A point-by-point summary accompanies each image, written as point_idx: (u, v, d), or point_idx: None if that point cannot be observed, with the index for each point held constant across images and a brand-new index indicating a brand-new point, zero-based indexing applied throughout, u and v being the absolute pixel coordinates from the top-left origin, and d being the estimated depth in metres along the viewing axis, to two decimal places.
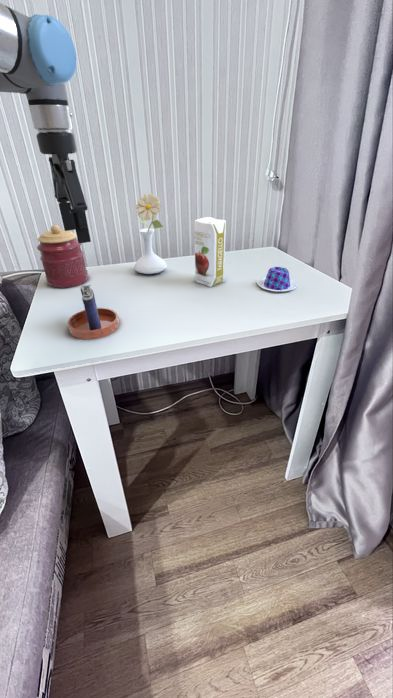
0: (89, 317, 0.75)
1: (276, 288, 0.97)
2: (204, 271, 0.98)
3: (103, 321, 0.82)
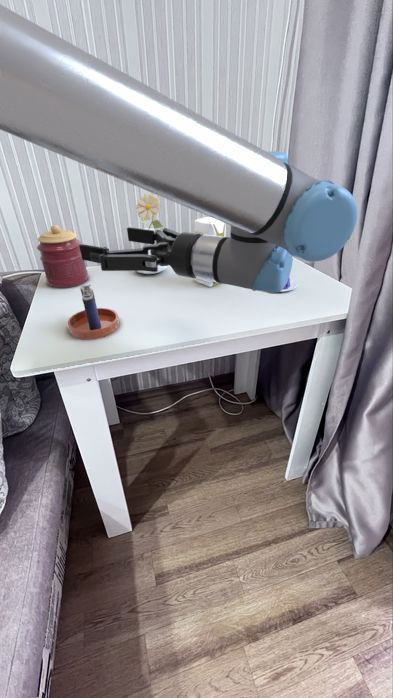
0: (89, 317, 0.75)
1: None
2: None
3: (103, 321, 0.82)
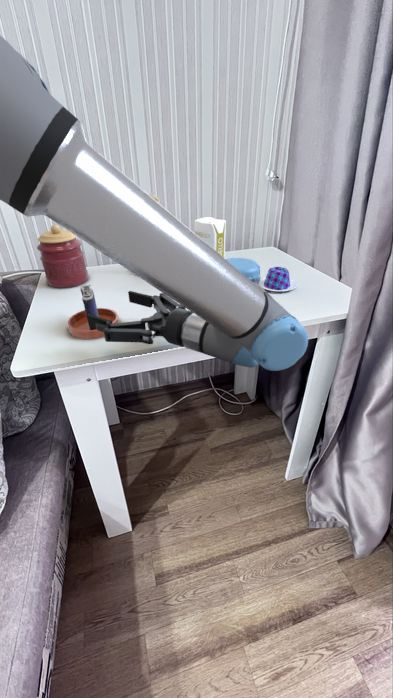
0: None
1: (276, 288, 0.97)
2: None
3: None
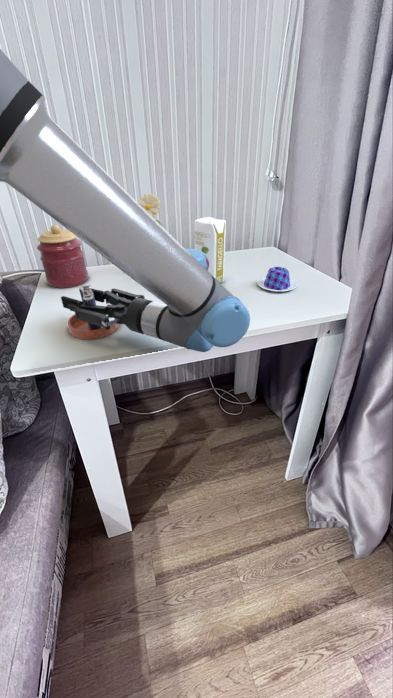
0: None
1: (276, 288, 0.97)
2: None
3: None
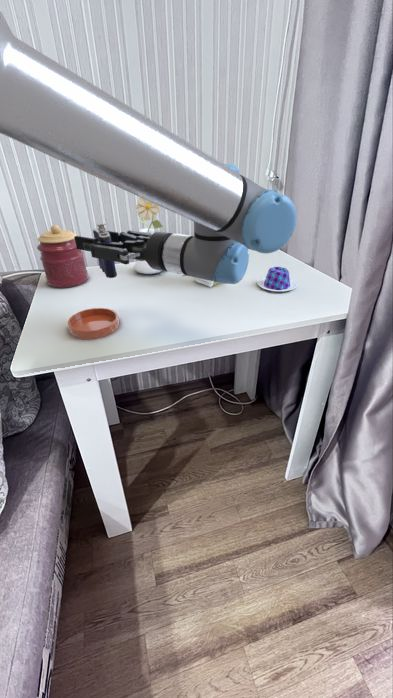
0: None
1: (276, 288, 0.97)
2: None
3: (103, 321, 0.82)
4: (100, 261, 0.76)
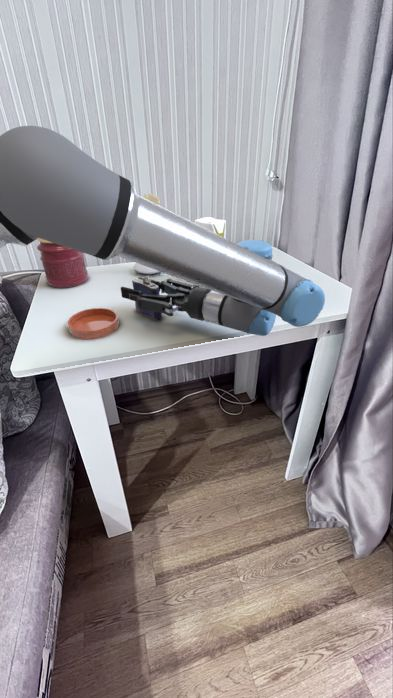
0: None
1: None
2: None
3: (103, 321, 0.82)
4: None
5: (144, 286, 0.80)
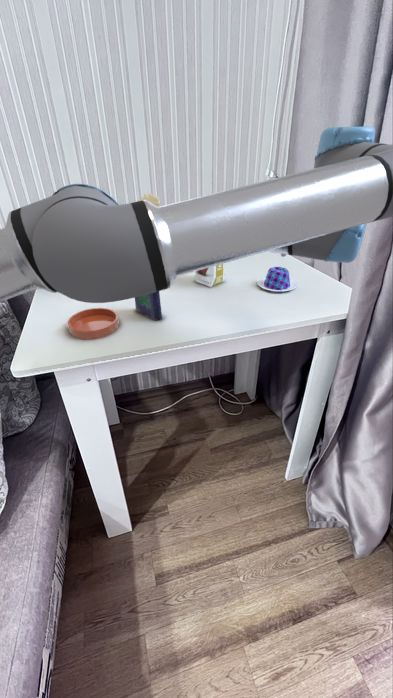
0: (156, 304, 0.80)
1: (276, 288, 0.97)
2: (204, 271, 0.98)
3: (103, 321, 0.82)
4: (140, 307, 0.85)
5: None
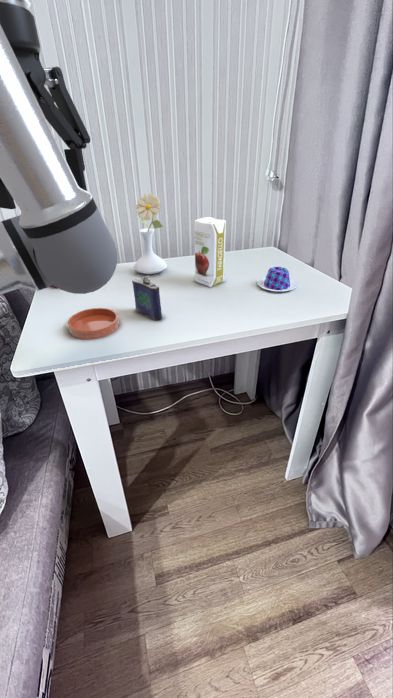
0: (156, 304, 0.80)
1: (276, 288, 0.97)
2: (204, 271, 0.98)
3: (103, 321, 0.82)
4: (140, 307, 0.85)
5: (144, 286, 0.80)
